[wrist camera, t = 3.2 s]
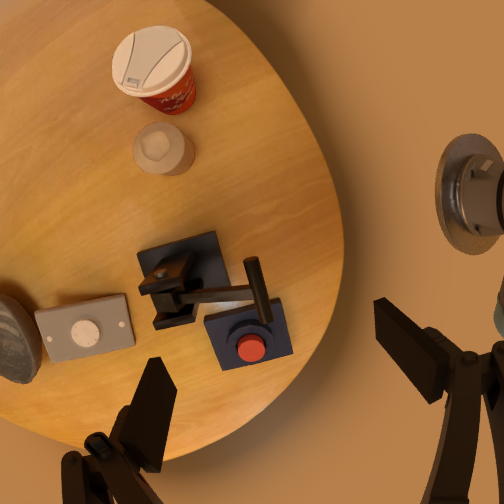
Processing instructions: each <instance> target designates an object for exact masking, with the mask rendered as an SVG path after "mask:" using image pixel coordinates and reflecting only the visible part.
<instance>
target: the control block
mask: <svg viewBox="0 0 504 504" xmlns="http://www.w3.org/2000/svg"><path fill="white" fill-rule="evenodd" d="M270 304H271V308H272V312H273V316H274V321H273V322H271V323H269V324H261V323H260V320H259V317H258V313H257V310H256V306H255V304H253V305H249V306H245V307H241V308H237V309H233V310H229V311H225V312H221V313H217V314H213V315H209V316H205V317H204V325H205V327H206V330H207V333H208V335H209V338H210V340H211V343H212V346H213V348H214V351H215V353H216V356H217V358H218V361H219V363H220V366H221V368H222V371H225V370H230V369H234V368H239V367H243V366H247V365H253V364H257V363H261V362H264V361H268V360H272V359H276V358H279V357H283V356H287V355H290V354H293V350H292V346H291V342H290V337H289V333H288V329H287V325H286V320H285V316H284V312H283V308H282V304H281V301H280V298H275V299H272V300H270ZM247 334H256V335H258V336H260V337H261V338H262V339H263V342H264V346H265V354H264V355H263V357H262V358H261V359H259V360H258V361H254V362H248V361H245V360H243V359H242V358H241V357H240V356H239V354H238V342H239V340H240V338H241V337H243V336H244V335H247Z"/></svg>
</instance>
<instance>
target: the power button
mask: <svg viewBox="0 0 504 504" xmlns="http://www.w3.org/2000/svg"><path fill="white" fill-rule="evenodd" d="M238 354H239V356H240V357H241V358H242V359H243V360H245V361H248V362H254V361H258V360H259V359H261V358H262V357H263V355H264V354H265V346H264V342H263V339H262V338H261V337H260V336H258V335H256V334H247V335H244V336H243V337H241V338H240V340H239V342H238Z"/></svg>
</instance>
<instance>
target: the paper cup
mask: <svg viewBox="0 0 504 504" xmlns="http://www.w3.org/2000/svg"><path fill="white" fill-rule="evenodd" d="M191 56H192V51H191V46H190V43H189V41H188V40H187V38H186V37H185V36H184V35H183V34H182V33H180V32H179V31H177V30H176V29H175V28H172V27H169V26H163V25H158V26H151V27H146V28H143V29H140V30H138V31H135V32H133V33H132V34H130V35H129V36H127V37H126V38H125V39H124V40H123V41H122V42H121V44H120V45H119V46H118V48H117V49H116V51H115V54H114V56H113V60H112V76H113V80H114V82H115V84H116V85H117V87H118V88H119V89H120V90H121V91H123V92H124V93H126V94H128V95H131V96H136V97H138V98H140V99H141V100H143V101H144V102H146V103H147V104H149V105H151V106H153V107H154V108H156V109H158V110H159V111H161V112H163V113H165V114H169V115H176V114H180V113H183V112H184V111H186V110H187V109H189V108H190V106H191V105H192V104H193V102H194V100H195V96H196V90H195V83H194V78H193V73H192V68H191V63H190V62H191Z"/></svg>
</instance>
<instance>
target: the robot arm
mask: <svg viewBox="0 0 504 504" xmlns="http://www.w3.org/2000/svg"><path fill="white" fill-rule="evenodd" d="M456 202H457V209H458V213H459V216H460V219H461V222H462V223H463V225H464V227H465V228H466V229H467V230H468V231H469V232H470V233H471V234H473V235H476V236H480V237H490V236H497V235H503V234H504V162H502V161H500V160H498V159H495V158H493V157H491V156H489V155H485V154H475V155H472V156H470V157H469V158H468V159H467V160H466V161H465V162H464V164H463V165H462V167H461V169H460V172H459V175H458V180H457V186H456ZM373 302H374V315H375V330H376V331H375V332H376V339H377V341H378V342H379V343H380V344H381V345H382V347H383V348H384V349H385V350H386V351H387V353H388V354H389V355H390V356H391V357H392V359H393V360H394V361H395V362H396V364H397V365H398V366H399V367H400V368H401V370H402V371H403V372H404V373H405V375H406V376H407V377H408V378H409V380H410V381H411V382H412V383H413V385H414V386H415V387H416V388H417V389H418V391H419V392H420V393H421V395H422V396H423V397H424V398H425V400H426V401H427V402H428V404H432V403H433V402H435V401H437V400H439V399H441V398H442V395H443V391H444V390H445V391H446V392H447V393H448V397H447V401H446V404H445V408H446V409H445V415H444V420H443V425H442V431H441V435H440V439H439V444H438V448H437V452H436V456H435V460H434V463H433V467H432V471H431V474H430V477H429V480H428V483H427V486H426V489H425V492H424V495H423V498H422V501H421V503H420V504H469V499H468V491H469V487H470V482H471V478H472V473H473V468H474V462H475V456H476V449H477V442H478V433H479V423H480V408H481V395H482V394H483V398H484V402H485V406H486V410H487V414H488V419H489V423H490V428H491V433H492V439H493V444H494V451H495V458H496V465H497V475H498V486H499V504H504V341H498V342H496V343H495V344H494V345H493V347H492V351H491V352H489V353H485V354H482V355H478V354H477V353H475V352H472V351H465V352H463V351H462V350H461V349H460V348H458V347H457V346H456V345H455V344H454V343H453V342H451V341H450V340H449V339H447V337H445V336H444V335H443V334H442V333H441V332H439V331H438V330H437V329H434V328H432V327H426V328H425V329H421V328H420V327H418V325H417V324H415V323H414V322H413V321H412V320H411V319H410V318H408V317H407V316H406V315H405V314H404V313H403V312H401V311H400V310H399V309H398V308H397V307H395V306H394V305H393V304H392V303H391V302H390V301H388V300H387V299H386V298H385V297H383V298H381V299H378V300H375V301H373ZM494 323H495V326H496V328H497V330H498V332H499V333H500V334H501V336H502V337H503V338H504V278H503V281H502V285H501V288H500V291H499V293H498V296H497V304H496V308H495V311H494ZM176 394H177V389H176V387H175V385H174V383H173V381H172V379H171V377H170V375H169V373H168V371H167V369H166V367H165V365H164V363H163V361H162V359H161V357H155V358H149V360H148V362H147V365H146V367H145V370H144V372H143V374H142V377H141V379H140V382H139V384H138V387H137V389H136V392H135V394H134V397H133V399H132V402H131V404H130V405H125V406H124V407H123V408H122V409H121V410H120V412H119V413H118V416H117V418H116V419H117V420H116V421H115V423H114V426H113V428H112V431H111V433H110V436H109V438H108V437H107V436H106V435H105V434H104V433H102V432H95V433H93V434H91V435H89V436H88V437H87V438H86V440H85V442H84V447H85V448H86V450H87V451H88V452H89V453H90V454H91V455H88V456H82V455H81V454H80V453H79V452H78V451H70V452H68V453H66V454H65V455H64V456H63V458H62V461H61V479H62V498H63V504H114V499H113V496H114V498H115V500H116V502H117V503H118V504H164V503H163V502H162V501H161V500H160V498H159V497H158V496H157V495H156V493H155V492H154V491H153V489H152V488H151V487H150V485H149V484H148V483H147V481H146V480H145V479H144V477H143V476H142V475H141V474H140V473H139V472H140V467H142V468H143V469H144V470H145V471H146V472H147V473H160V471H161V466H162V461H163V456H164V451H165V446H166V441H167V436H168V431H169V426H170V421H171V417H172V412H173V407H174V403H175V398H176Z"/></svg>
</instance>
